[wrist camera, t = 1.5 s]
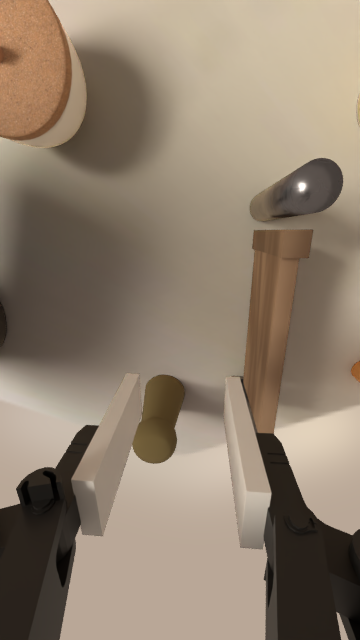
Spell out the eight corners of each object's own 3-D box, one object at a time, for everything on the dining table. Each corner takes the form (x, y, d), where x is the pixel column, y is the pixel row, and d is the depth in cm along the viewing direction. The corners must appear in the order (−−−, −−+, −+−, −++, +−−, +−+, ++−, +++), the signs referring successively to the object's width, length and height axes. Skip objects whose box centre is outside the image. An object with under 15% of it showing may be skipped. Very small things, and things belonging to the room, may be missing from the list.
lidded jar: (-15, 64, 26) (-124, -21, 17) (76, 16, 24) (6, -106, 15) (34, 175, 29) (-37, 151, 20) (117, 140, 27) (79, 97, 19)
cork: (169, 415, 39) (158, 480, 29) (137, 394, 38) (114, 454, 28) (192, 390, 37) (190, 450, 27) (160, 367, 37) (144, 421, 26)
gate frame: (229, 401, 38) (246, 493, 24) (244, 192, 28) (283, 159, 15) (259, 402, 37) (292, 496, 24) (284, 192, 28) (360, 156, 15)
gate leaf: (240, 381, 35) (258, 443, 25) (253, 230, 29) (284, 229, 18) (255, 382, 35) (278, 444, 25) (271, 230, 28) (313, 229, 18)
